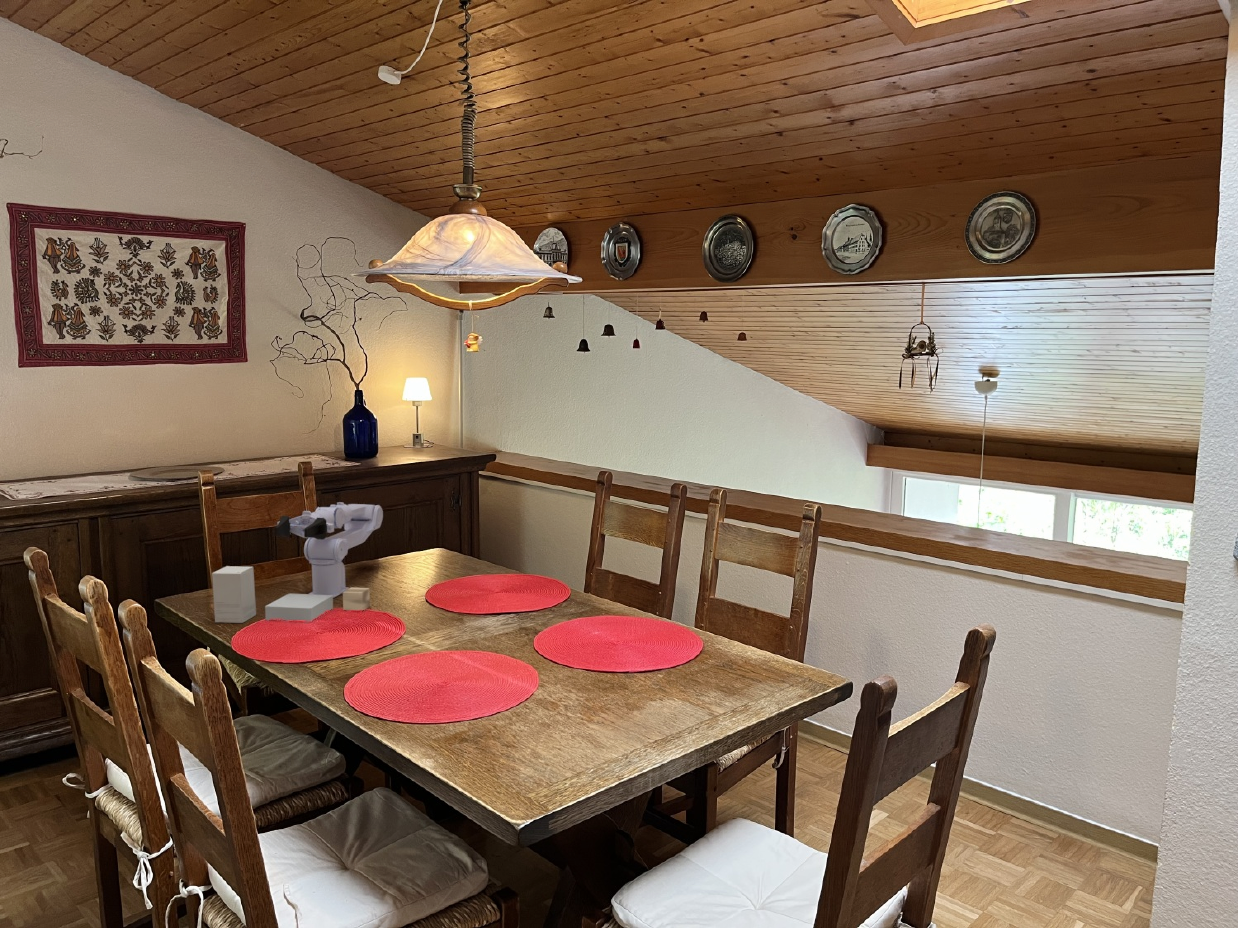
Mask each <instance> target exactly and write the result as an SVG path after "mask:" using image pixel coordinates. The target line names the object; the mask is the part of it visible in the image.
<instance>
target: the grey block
mask: <svg viewBox="0 0 1238 928" xmlns="http://www.w3.org/2000/svg"><path fill="white" fill-rule="evenodd" d="M331 609H332V610H333V609H334V598H333V595H312V594H309V593H308V594H306V593H287V594H285V595H284V596H281V597H280V598H278V599H276V600H274V601H272V602H271V603H269V604H266V605H265V606H264V612H265V621H269V620H270V619H283V620H305V621H312V620H313V619H315V618H317V617H318V616H319V615H321V614H323V613H324V612H325V611H327V610H331ZM332 610H331V611H332Z"/></svg>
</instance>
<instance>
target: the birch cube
mask: <svg viewBox="0 0 1238 928" xmlns="http://www.w3.org/2000/svg"><path fill="white" fill-rule="evenodd" d="M348 588H349V589H348V590H346V591H344V592H343V593H342V606H343V607H342V609H343V610H364V611H366V610H367V609H369V608H370V607H371V600H370V599H371V598H370V597H371V595H370V587H348ZM365 609H366V610H365Z"/></svg>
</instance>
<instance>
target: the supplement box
mask: <svg viewBox="0 0 1238 928" xmlns="http://www.w3.org/2000/svg"><path fill="white" fill-rule="evenodd" d="M211 578H212V579H211V580H212V594H213V609H214V610H213V612H214V622H215V623H229V624H230V623H232V624H233V623H234V624H243V623H245V622H247V621H249V620H250V619H252V618H253V617H255V616H256V615H257V607H256V606H257V605H256V591H255V590H256V588H255V574H254V566H236V565H235V566H230V565H226V566H223V567H222V568H220V569H218V570H216V571H213V572H212V573H211Z"/></svg>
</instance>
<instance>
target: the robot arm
mask: <svg viewBox="0 0 1238 928" xmlns="http://www.w3.org/2000/svg"><path fill="white" fill-rule="evenodd" d="M383 518H384V511H383V508H382V506H381V505H380V504H377V505H375V504H365V503H363V504H362V503H361V504H360V503H359V504H358V503H348V504H346V503H344V502H340V501H339V502H336V504H330V506H320V507H319V506H317V508H316V509H315V511H313V512H311V511H310V510H304V511H302V515H299V516H296V517H293V518H290V516H289V515H282V516H280V518H279V521H277V525H276V526H275V527H274V535H275V537H276V536H278V537H280V538H281V537H282V538H287V539H288V538H291V533H292V534H294V535H296V536H299V537H301V538H303V539H306V541H305V543H304V547H303V553H304V556H305V557H304V558H305V559H306V560H307V561H308V562H309V564H311V575H312V579H311V580H312V582H311V583H312V591H311V592H309V593H308V594H312V595H333V599H334V598H336V597H338V596H339V595H342V594H343V592H344V591H346V590H348V589H349V588H350V587H347V586H346V568H345V567H346V566H345V564H344V563H343V559H345V556H347V555H348V551H349V550H350V549H351V548H353V547H356V546H359V545H361V544H363V543H364V542H366V540H367V539H368V538H369V537H370V535H371V534H372V533H373V532H374V531H375V530H378V529H380V528H381V526H382V522H383ZM342 527H344V531H340V532H338V533H336V534H332V535H330V536H328V537H327V533H329V534H331V533H334V532H335V529H342Z"/></svg>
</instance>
